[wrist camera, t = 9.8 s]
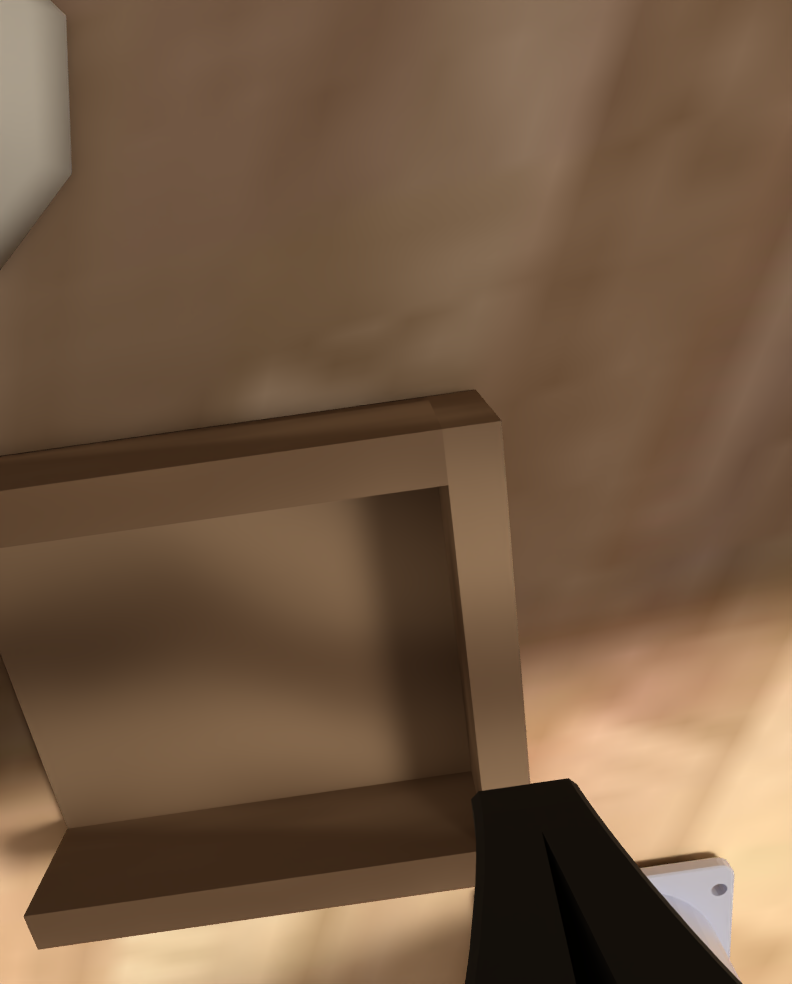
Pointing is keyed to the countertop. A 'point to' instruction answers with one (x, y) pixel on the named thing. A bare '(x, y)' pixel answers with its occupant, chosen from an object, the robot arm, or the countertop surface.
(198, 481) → the box
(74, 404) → the countertop surface
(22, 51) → the flask
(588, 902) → the robot arm
